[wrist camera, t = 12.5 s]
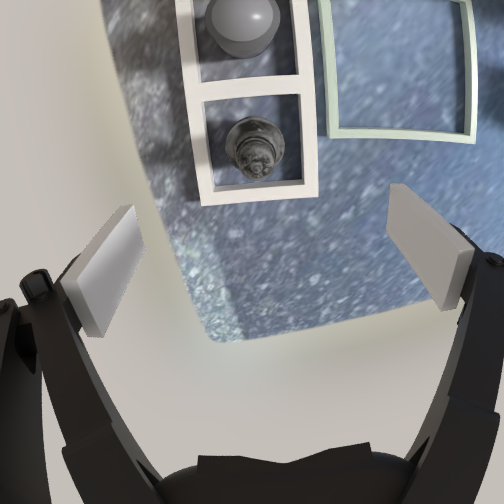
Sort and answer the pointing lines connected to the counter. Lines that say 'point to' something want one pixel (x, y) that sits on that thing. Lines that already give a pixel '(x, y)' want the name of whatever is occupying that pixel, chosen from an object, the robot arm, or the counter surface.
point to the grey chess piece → (255, 147)
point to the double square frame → (248, 89)
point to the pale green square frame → (400, 133)
